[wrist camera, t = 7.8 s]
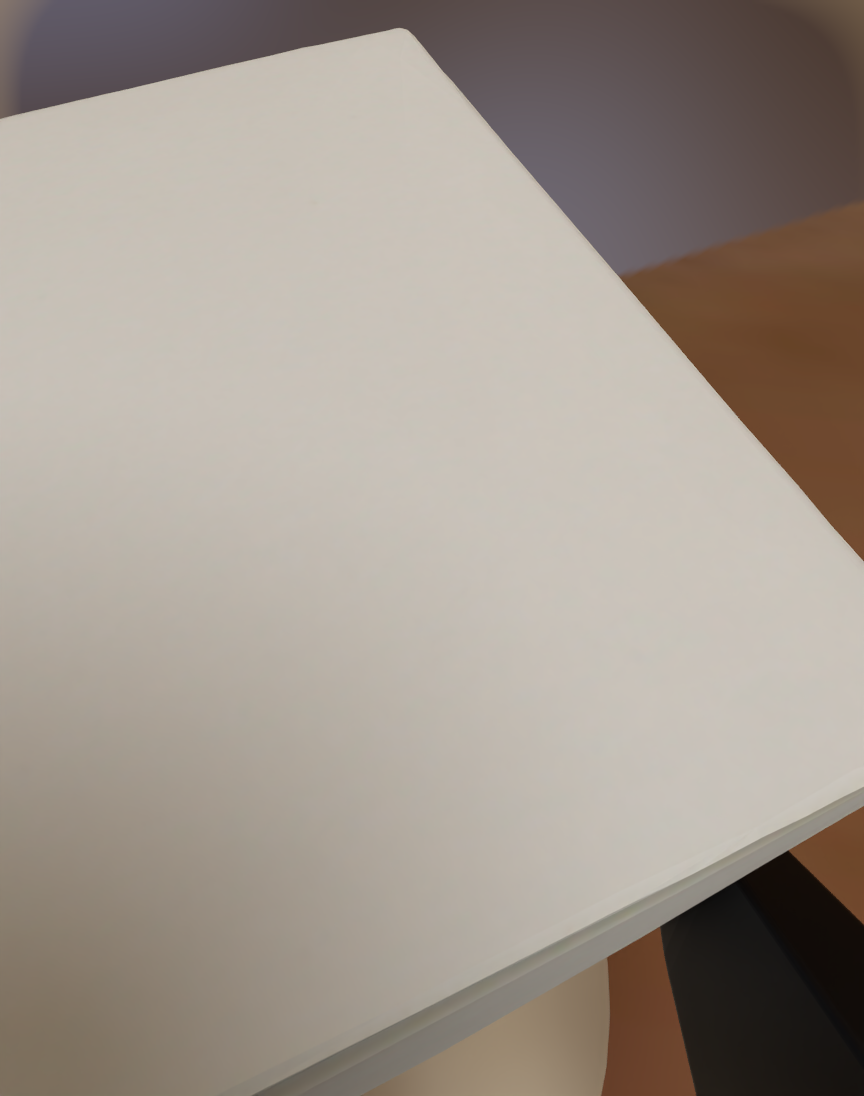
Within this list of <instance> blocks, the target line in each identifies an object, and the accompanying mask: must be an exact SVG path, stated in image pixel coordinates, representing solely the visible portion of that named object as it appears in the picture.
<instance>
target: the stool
mask: <svg viewBox="0 0 864 1096" xmlns="http://www.w3.org/2000/svg"><path fill="white" fill-rule="evenodd" d="M609 1022H610V1002H609V980H608V962H607V957H606V958H604V959H603V960H601V961H599V962H598V963H596V964H594V965H592V966H591V967H589V968H587V969H585V970H584V971H582V972H580V973H578V974H577V975H575V976H573V977H571V978H570V979H568V980H566V981H564V982H563V983H561V984H559V985H558V986H556V987H554V988H552V989H551V990H549V991H547V992H545V993H544V994H542V995H540V996H538V997H537V998H535V999H533V1000H531V1001H530V1002H528V1003H526V1004H524V1005H523V1006H521V1007H519V1008H517V1009H516V1010H514V1011H512V1012H511V1013H509V1014H507V1015H505V1016H504V1017H502V1018H500V1019H498V1020H497V1021H495V1022H493V1023H491V1024H490V1025H488V1026H486V1027H484V1028H483V1029H481V1030H479V1031H477V1032H476V1033H474V1034H472V1035H470V1036H469V1037H467V1038H465V1039H464V1040H462V1041H460V1042H458V1043H457V1044H455V1045H453V1046H451V1047H450V1048H448V1049H446V1050H444V1051H443V1052H441V1053H439V1054H437V1055H435V1056H433V1057H431V1058H430V1059H428V1060H426V1061H424V1062H422V1063H420V1064H418V1065H417V1066H415V1067H413V1068H411V1069H409V1070H407V1071H405V1072H403V1073H402V1074H400V1075H398V1076H396V1077H394V1078H392V1079H390V1080H389V1081H387V1082H385V1083H383V1084H381V1085H379V1086H377V1087H376V1088H374V1089H372V1090H370V1091H368V1092H366V1093H364V1094H363V1095H361V1096H601V1093H602V1088H603V1082H604V1077H605V1072H606V1066H607V1051H608V1037H609Z"/></svg>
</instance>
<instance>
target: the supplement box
mask: <svg viewBox="0 0 864 1096" xmlns="http://www.w3.org/2000/svg"><path fill="white" fill-rule="evenodd" d="M862 806H864V561H863V560H862V559H861V558H860V557H859V556H858V555H857V554H856V553H855V551H854V550H853V549H852V548H851V547H850V546H849V545H848V544H847V543H846V541H845V540H844V539H843V538H842V537H841V536H840V535H839V534H838V532H837V531H836V530H835V529H834V528H833V527H832V526H831V525H830V524H829V522H828V521H827V520H826V519H825V518H824V516H823V515H822V514H821V513H820V512H819V510H818V509H817V508H816V507H815V506H814V504H813V503H812V502H811V501H810V500H809V498H808V497H807V496H806V495H805V494H804V492H803V491H802V490H801V489H800V488H799V486H798V485H797V484H796V483H795V482H794V481H793V479H792V478H791V477H790V476H789V475H788V474H787V473H786V471H785V470H784V469H783V468H782V467H781V466H780V465H779V464H778V462H777V461H776V460H775V459H774V458H773V457H772V456H771V454H770V453H769V452H768V451H767V450H766V449H765V448H764V447H763V445H762V444H761V443H760V442H759V441H758V440H757V439H756V437H755V436H754V435H753V434H752V433H751V432H750V431H749V430H748V428H747V427H746V426H745V425H744V424H743V423H742V422H741V421H740V419H739V418H738V417H737V416H736V415H735V414H734V412H733V411H732V410H731V409H730V408H729V407H728V405H727V404H726V403H725V402H724V401H723V400H722V398H721V397H720V396H719V395H718V394H717V392H716V391H715V390H714V389H713V388H712V387H711V385H710V384H709V383H708V382H707V381H706V379H705V378H704V377H703V376H702V375H701V374H700V372H699V371H698V370H697V369H696V368H695V366H694V365H693V364H692V363H691V362H690V361H689V359H688V358H687V357H686V356H685V355H684V353H683V352H682V351H681V350H680V349H679V348H678V346H677V345H676V344H675V343H674V342H673V341H672V339H671V338H670V337H669V336H668V335H667V333H666V332H665V331H664V330H663V329H662V328H661V326H660V325H659V324H658V323H657V322H656V320H655V319H654V318H653V317H652V316H651V315H650V313H649V312H648V311H647V310H646V309H645V307H644V306H643V305H642V304H641V303H640V302H639V300H638V299H637V298H636V297H635V296H634V295H633V293H632V292H631V291H630V290H629V289H628V287H627V286H626V285H625V284H624V283H623V282H622V280H621V279H620V278H619V277H618V276H617V275H616V273H615V272H614V271H613V270H612V269H611V268H610V266H609V265H608V264H607V263H606V262H605V261H604V259H603V258H602V257H601V256H600V255H599V254H598V252H597V251H596V250H595V249H594V248H593V247H592V245H591V244H590V243H589V242H588V241H587V240H586V238H585V237H584V236H583V235H582V234H581V233H580V231H579V230H578V229H577V228H576V227H575V226H574V224H573V223H572V222H571V221H570V220H569V219H568V218H567V216H566V215H565V214H564V213H563V212H562V210H561V209H560V208H559V207H558V206H557V205H556V203H555V202H554V201H553V200H552V199H551V198H550V196H549V195H548V194H547V193H546V192H545V191H544V189H543V188H542V187H541V186H540V185H539V184H538V182H537V181H536V180H535V179H534V178H533V177H532V175H531V174H530V173H529V172H528V171H527V170H526V169H525V167H524V166H523V165H522V164H521V163H520V161H519V160H518V159H517V158H516V157H515V156H514V154H513V153H512V152H511V151H510V150H509V149H508V147H507V146H506V145H505V144H504V143H503V141H502V140H501V139H500V138H499V137H498V135H497V134H496V133H495V132H494V131H493V130H492V128H491V127H490V126H489V125H488V124H487V122H486V121H485V120H484V119H483V118H482V116H481V115H480V114H479V113H478V112H477V110H476V109H475V108H474V107H473V106H472V104H471V103H470V102H469V101H468V100H467V99H466V97H465V96H464V95H463V94H462V93H461V91H460V90H459V89H458V88H457V87H456V85H455V84H454V83H453V82H452V81H451V80H450V79H449V78H448V77H447V75H446V74H445V73H444V72H443V71H442V70H441V69H440V67H439V66H438V65H437V64H436V62H435V61H434V60H433V59H432V57H431V56H430V55H429V54H428V53H427V51H426V50H425V49H424V48H423V46H422V45H421V44H420V43H419V41H418V40H417V39H416V38H415V36H413V35H412V34H411V33H410V32H409V31H408V30H405V29H402V28H397V29H392V30H388V31H384V32H379V33H374V34H369V35H364V36H359V37H355V38H350V39H345V40H341V41H336V42H332V43H327V44H322V45H317V46H311V47H305V48H301V49H296V50H292V51H289V52H284V53H280V54H276V55H272V56H268V57H263V58H259V59H254V60H250V61H246V62H242V63H236V64H232V65H228V66H223V67H220V68H215V69H211V70H207V71H202V72H198V73H194V74H190V75H186V76H182V77H177V78H174V79H169V80H165V81H161V82H157V83H152V84H148V85H144V86H140V87H135V88H132V89H127V90H122V91H118V92H114V93H109V94H105V95H100V96H96V97H92V98H87V99H83V100H79V101H74V102H70V103H66V104H62V105H57V106H53V107H49V108H44V109H40V110H36V111H31V112H27V113H23V114H18V115H14V116H11V117H6V118H3V119H0V1096H361V1095H363V1094H364V1093H366V1092H368V1091H370V1090H372V1089H374V1088H376V1087H377V1086H379V1085H381V1084H383V1083H385V1082H387V1081H389V1080H390V1079H392V1078H394V1077H396V1076H398V1075H400V1074H402V1073H403V1072H405V1071H407V1070H409V1069H411V1068H413V1067H415V1066H417V1065H418V1064H420V1063H422V1062H424V1061H426V1060H428V1059H430V1058H431V1057H433V1056H435V1055H437V1054H439V1053H441V1052H443V1051H444V1050H446V1049H448V1048H450V1047H451V1046H453V1045H455V1044H457V1043H458V1042H460V1041H462V1040H464V1039H465V1038H467V1037H469V1036H470V1035H472V1034H474V1033H476V1032H477V1031H479V1030H481V1029H483V1028H484V1027H486V1026H488V1025H490V1024H491V1023H493V1022H495V1021H497V1020H498V1019H500V1018H502V1017H504V1016H505V1015H507V1014H509V1013H511V1012H512V1011H514V1010H516V1009H517V1008H519V1007H521V1006H523V1005H524V1004H526V1003H528V1002H530V1001H531V1000H533V999H535V998H537V997H538V996H540V995H542V994H544V993H545V992H547V991H549V990H551V989H552V988H554V987H556V986H558V985H559V984H561V983H563V982H564V981H566V980H568V979H570V978H571V977H573V976H575V975H577V974H578V973H580V972H582V971H584V970H585V969H587V968H589V967H591V966H592V965H594V964H596V963H598V962H599V961H601V960H603V959H604V958H606V957H608V956H610V955H611V954H613V953H615V952H617V951H618V950H620V949H622V948H624V947H625V946H627V945H629V944H631V943H632V942H634V941H636V940H638V939H639V938H641V937H643V936H644V935H646V934H648V933H650V932H651V931H653V930H655V929H656V928H658V927H660V926H661V925H663V924H665V923H666V922H668V921H670V920H671V919H673V918H675V917H676V916H678V915H680V914H681V913H683V912H685V911H686V910H688V909H690V908H692V907H693V906H695V905H697V904H698V903H700V902H702V901H703V900H705V899H707V898H708V897H710V896H712V895H713V894H715V893H717V892H718V891H720V890H722V889H723V888H725V887H727V886H728V885H730V884H732V883H734V882H735V881H737V880H739V879H740V878H742V877H744V876H745V875H747V874H749V873H750V872H752V871H754V870H755V869H757V868H759V867H760V866H762V865H764V864H765V863H767V862H769V861H771V860H772V859H774V858H776V857H777V856H779V855H781V854H782V853H784V852H786V851H788V850H789V849H791V848H793V847H794V846H796V845H798V844H799V843H801V842H803V841H805V840H806V839H808V838H810V837H811V836H813V835H815V834H816V833H818V832H820V831H822V830H823V829H825V828H827V827H828V826H830V825H832V824H833V823H835V822H837V821H839V820H840V819H842V818H844V817H845V816H847V815H849V814H850V813H852V812H854V811H856V810H857V809H859V808H861V807H862Z"/></svg>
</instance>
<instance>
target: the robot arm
mask: <svg viewBox="0 0 864 1096" xmlns="http://www.w3.org/2000/svg"><path fill="white" fill-rule="evenodd" d="M660 928H661V936H662V943H663V950H664V956H665V961H666V966H667V971H668V975H669V980H670V984H671V988H672V993H673V997H674V1001H675V1006H676V1010H677V1014H678V1018H679V1023H680V1027H681V1031H682V1036H683V1040H684V1044H685V1049H686V1053H687V1057H688V1062H689V1066H690V1070H691V1075H692V1079H693V1083H694V1087H695V1092H696V1096H864V925H863V924H862V923H861V922H860V921H859V920H858V919H857V918H856V917H855V916H854V915H853V914H852V913H851V912H850V911H849V910H848V909H847V908H846V907H845V906H844V905H843V904H842V903H841V902H840V901H839V900H838V899H837V898H836V897H835V896H834V895H833V894H832V893H831V892H830V891H829V890H828V889H827V888H826V887H825V886H824V885H823V884H822V883H821V882H820V881H819V880H818V879H817V878H816V877H815V876H814V875H813V874H812V873H811V872H810V871H809V870H808V869H807V868H806V867H805V866H803V865H802V864H801V863H800V862H799V861H798V860H797V859H796V858H795V857H794V856H793V855H792V854H791V853H790V852H789V851H786V852H784V853H782V854H781V855H779V856H777V857H776V858H774V859H772V860H771V861H769V862H767V863H765V864H764V865H762V866H760V867H759V868H757V869H755V870H754V871H752V872H750V873H749V874H747V875H745V876H744V877H742V878H740V879H739V880H737V881H735V882H734V883H732V884H730V885H728V886H727V887H725V888H723V889H722V890H720V891H718V892H717V893H715V894H713V895H712V896H710V897H708V898H707V899H705V900H703V901H702V902H700V903H698V904H697V905H695V906H693V907H692V908H690V909H688V910H686V911H685V912H683V913H681V914H680V915H678V916H676V917H675V918H673V919H671V920H670V921H668V922H666V923H665V924H663V925H661V926H660Z"/></svg>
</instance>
